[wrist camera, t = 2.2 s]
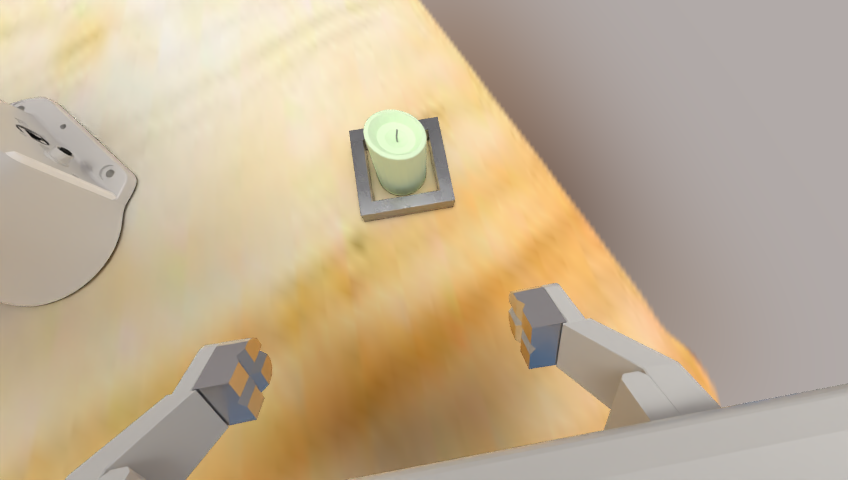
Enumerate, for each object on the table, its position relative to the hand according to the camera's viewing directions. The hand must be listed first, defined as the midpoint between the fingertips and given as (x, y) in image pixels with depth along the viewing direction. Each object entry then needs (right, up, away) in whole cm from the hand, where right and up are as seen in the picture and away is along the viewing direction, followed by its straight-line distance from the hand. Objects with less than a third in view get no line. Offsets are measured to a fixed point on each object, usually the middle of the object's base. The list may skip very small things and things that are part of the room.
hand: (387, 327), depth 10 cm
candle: (-1, +10, +22) cm, 24 cm away
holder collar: (-1, +10, +22) cm, 24 cm away
